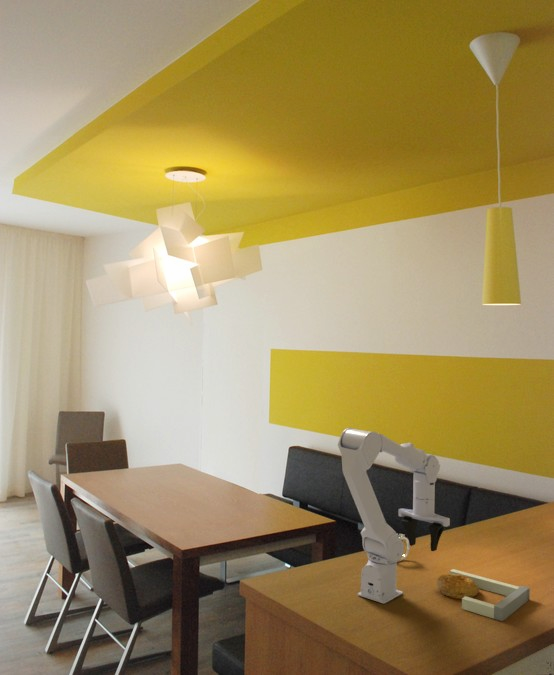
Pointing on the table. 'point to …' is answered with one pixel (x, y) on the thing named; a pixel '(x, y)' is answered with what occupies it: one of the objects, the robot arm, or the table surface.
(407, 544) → the ring
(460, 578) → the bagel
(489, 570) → the table surface
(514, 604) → the guide
